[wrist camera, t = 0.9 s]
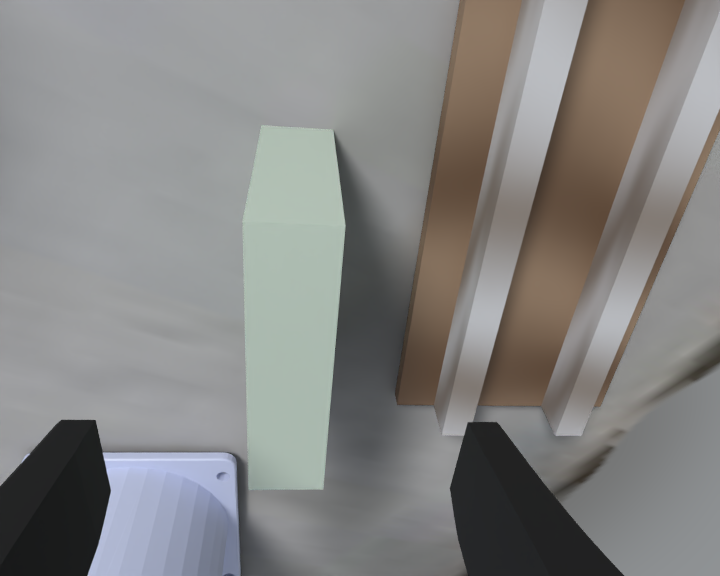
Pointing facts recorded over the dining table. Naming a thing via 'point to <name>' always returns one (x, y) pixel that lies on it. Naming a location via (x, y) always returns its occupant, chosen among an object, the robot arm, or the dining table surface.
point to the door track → (554, 198)
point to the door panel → (291, 304)
